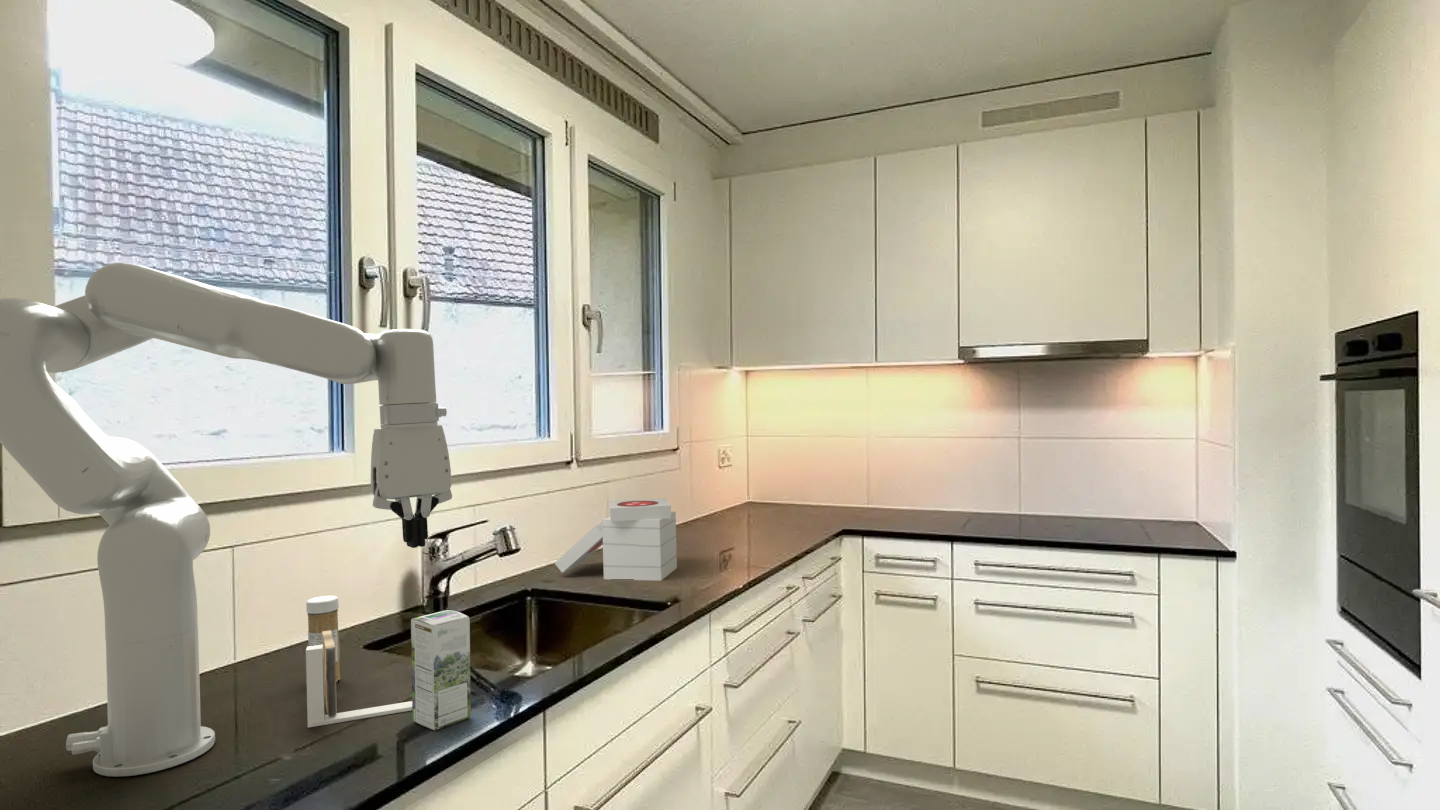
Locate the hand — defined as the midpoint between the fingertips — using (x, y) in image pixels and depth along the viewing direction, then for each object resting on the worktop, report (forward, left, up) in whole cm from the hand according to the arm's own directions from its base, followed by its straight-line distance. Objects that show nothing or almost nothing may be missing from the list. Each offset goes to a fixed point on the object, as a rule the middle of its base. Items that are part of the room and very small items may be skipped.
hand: (415, 545), depth 111 cm
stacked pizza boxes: (+52, +76, -24) cm, 95 cm away
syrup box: (+3, -4, -24) cm, 25 cm away
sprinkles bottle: (-13, +21, -24) cm, 34 cm away
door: (-12, +8, -23) cm, 27 cm away
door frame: (-6, +3, -24) cm, 25 cm away
